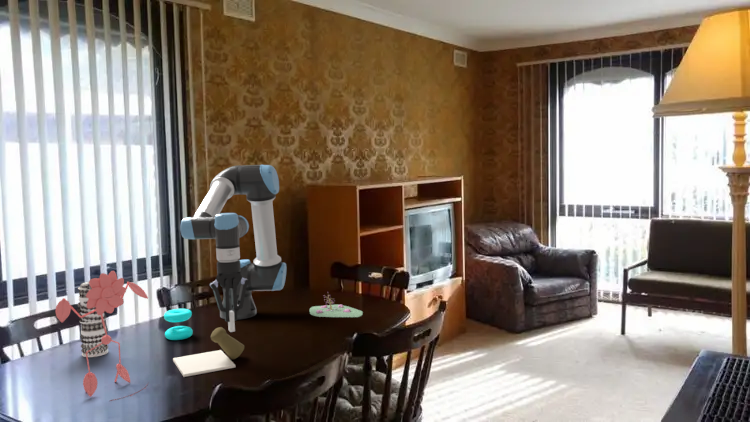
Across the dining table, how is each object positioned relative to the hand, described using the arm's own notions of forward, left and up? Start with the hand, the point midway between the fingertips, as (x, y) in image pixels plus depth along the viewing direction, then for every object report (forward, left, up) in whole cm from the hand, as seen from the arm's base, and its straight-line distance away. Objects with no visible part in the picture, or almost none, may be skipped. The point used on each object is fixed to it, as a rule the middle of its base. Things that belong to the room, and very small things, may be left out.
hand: (231, 330), depth 203 cm
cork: (0, +2, -8) cm, 8 cm away
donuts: (-36, -11, -10) cm, 39 cm away
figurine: (+10, -38, -10) cm, 40 cm away
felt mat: (0, -10, -10) cm, 14 cm away
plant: (-37, +55, -10) cm, 67 cm away
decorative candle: (-32, -40, -10) cm, 52 cm away
